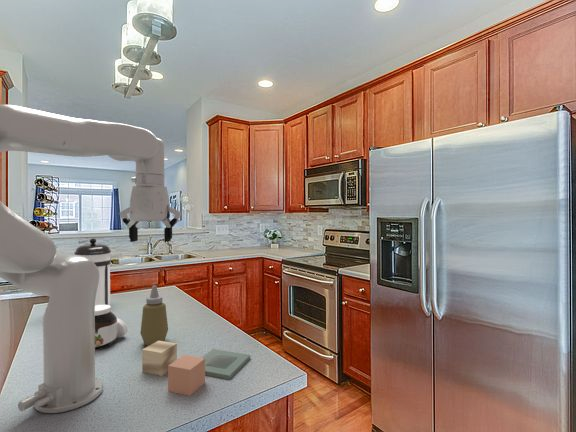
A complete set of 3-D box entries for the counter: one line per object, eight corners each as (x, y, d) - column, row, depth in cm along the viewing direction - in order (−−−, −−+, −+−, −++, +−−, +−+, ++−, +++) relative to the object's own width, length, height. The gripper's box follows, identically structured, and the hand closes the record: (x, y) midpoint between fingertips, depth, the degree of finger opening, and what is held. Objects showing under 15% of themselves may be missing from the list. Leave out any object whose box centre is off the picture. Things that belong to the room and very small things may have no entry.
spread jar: (74, 351, 95) (74, 312, 95) (91, 336, 106) (91, 301, 106) (118, 349, 97) (117, 310, 97) (130, 334, 108) (130, 300, 108)
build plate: (229, 379, 80) (229, 375, 80) (188, 371, 84) (188, 367, 84) (250, 358, 91) (250, 355, 91) (213, 352, 95) (213, 348, 95)
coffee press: (92, 304, 142) (91, 236, 141) (122, 307, 137) (122, 237, 137) (54, 317, 125) (53, 239, 125) (86, 321, 121) (86, 241, 120)
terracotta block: (190, 396, 73) (190, 369, 73) (168, 391, 75) (168, 365, 75) (205, 382, 78) (205, 358, 78) (184, 378, 80) (184, 354, 80)
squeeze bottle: (140, 340, 104) (140, 284, 103) (167, 336, 107) (167, 282, 107) (140, 350, 96) (139, 290, 96) (168, 345, 99) (168, 287, 99)
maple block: (161, 376, 81) (161, 352, 81) (142, 372, 83) (142, 349, 83) (176, 365, 87) (176, 343, 87) (158, 362, 89) (158, 340, 89)
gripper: (113, 180, 89) (113, 242, 89) (176, 180, 89) (176, 242, 89) (126, 182, 96) (127, 240, 96) (184, 182, 96) (185, 240, 97)
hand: (150, 241), depth 93 cm, fingers open, 9 cm apart
